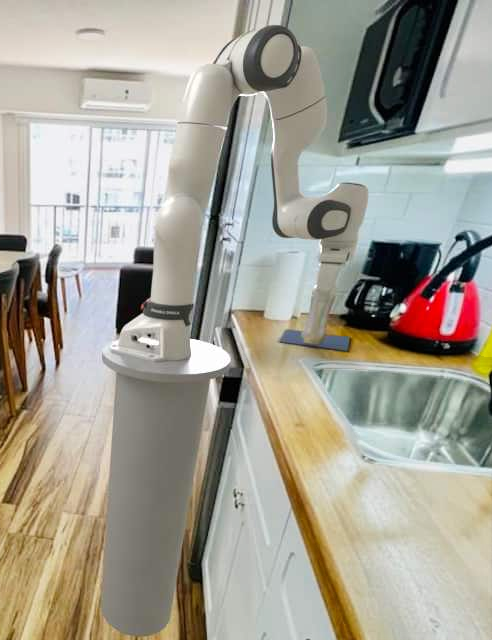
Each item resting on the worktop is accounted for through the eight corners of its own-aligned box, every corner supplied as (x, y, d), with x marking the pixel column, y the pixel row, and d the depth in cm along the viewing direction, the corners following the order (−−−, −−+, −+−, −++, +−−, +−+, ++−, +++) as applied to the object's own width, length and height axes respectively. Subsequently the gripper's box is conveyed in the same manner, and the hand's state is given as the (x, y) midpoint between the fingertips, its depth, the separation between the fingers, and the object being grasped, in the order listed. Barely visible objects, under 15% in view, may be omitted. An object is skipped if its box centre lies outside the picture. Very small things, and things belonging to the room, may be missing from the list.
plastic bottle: (323, 342, 142) (342, 270, 132) (323, 347, 137) (344, 274, 127) (299, 339, 144) (317, 269, 135) (298, 345, 139) (317, 272, 129)
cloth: (279, 342, 144) (280, 341, 144) (287, 330, 156) (287, 329, 156) (347, 351, 136) (347, 350, 136) (349, 338, 149) (349, 337, 148)
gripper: (325, 247, 138) (313, 297, 144) (318, 255, 122) (305, 310, 129) (350, 248, 135) (336, 299, 141) (346, 257, 119) (331, 313, 126)
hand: (321, 304), depth 135 cm, fingers closed on plastic bottle, 6 cm apart
